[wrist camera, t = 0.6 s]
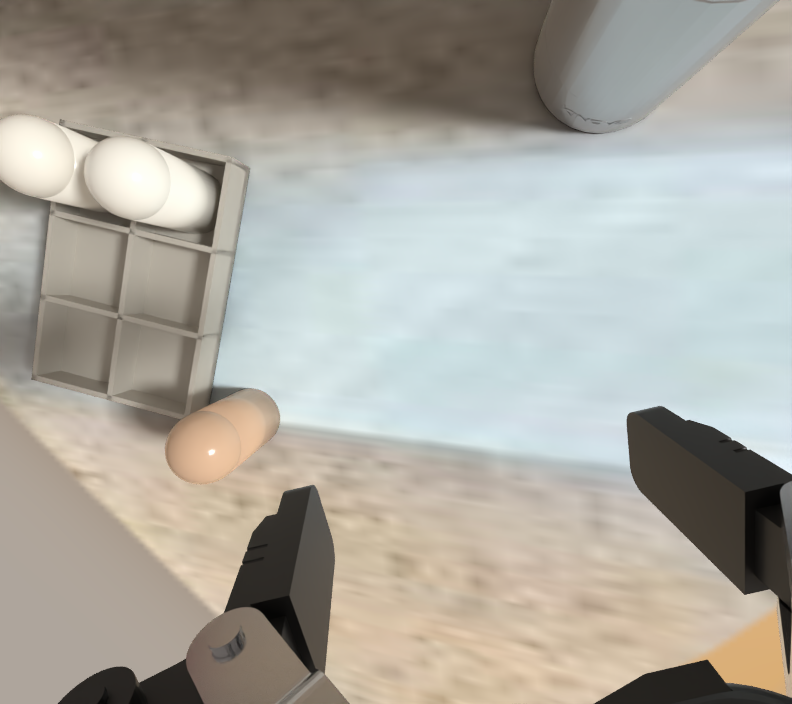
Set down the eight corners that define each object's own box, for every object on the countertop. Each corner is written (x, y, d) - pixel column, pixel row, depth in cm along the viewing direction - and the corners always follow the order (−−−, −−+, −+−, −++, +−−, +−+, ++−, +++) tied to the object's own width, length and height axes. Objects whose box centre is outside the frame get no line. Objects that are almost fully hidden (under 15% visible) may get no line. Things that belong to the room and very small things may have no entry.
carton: (90, 132, 35) (59, 119, 32) (250, 168, 34) (232, 157, 31) (61, 372, 38) (31, 379, 35) (208, 411, 37) (188, 421, 34)
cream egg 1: (95, 146, 34) (-36, 93, 25) (152, 159, 34) (41, 109, 25) (87, 209, 35) (-43, 179, 26) (143, 222, 35) (32, 196, 25)
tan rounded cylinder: (229, 382, 36) (154, 413, 27) (284, 396, 36) (228, 433, 27) (219, 436, 37) (143, 485, 28) (274, 451, 37) (214, 505, 27)
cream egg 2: (172, 164, 34) (68, 115, 25) (231, 177, 33) (147, 133, 24) (163, 226, 34) (58, 202, 25) (220, 240, 34) (135, 221, 25)
